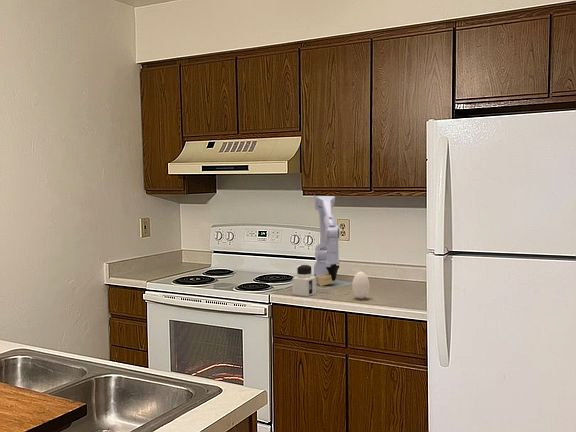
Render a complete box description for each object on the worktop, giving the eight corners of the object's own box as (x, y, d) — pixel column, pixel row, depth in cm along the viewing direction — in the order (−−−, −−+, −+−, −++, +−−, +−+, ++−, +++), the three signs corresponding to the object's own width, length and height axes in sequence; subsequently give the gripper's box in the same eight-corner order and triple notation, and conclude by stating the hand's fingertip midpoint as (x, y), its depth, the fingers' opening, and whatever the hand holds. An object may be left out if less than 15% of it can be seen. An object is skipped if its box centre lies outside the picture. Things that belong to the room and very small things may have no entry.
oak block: (317, 284, 291) (316, 275, 291) (329, 281, 292) (328, 273, 291) (320, 286, 285) (318, 278, 285) (332, 283, 286) (330, 275, 286)
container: (316, 293, 273) (316, 265, 272) (306, 296, 266) (306, 267, 265) (301, 291, 277) (301, 263, 276) (292, 294, 271) (292, 265, 270)
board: (304, 287, 288) (304, 285, 288) (335, 281, 302) (335, 279, 302) (324, 291, 277) (324, 289, 277) (356, 285, 291) (356, 283, 291)
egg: (359, 296, 266) (359, 269, 265) (373, 298, 261) (373, 271, 260) (348, 298, 261) (348, 271, 260) (362, 301, 256) (361, 273, 255)
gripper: (329, 250, 297) (330, 278, 297) (319, 253, 283) (319, 282, 284) (343, 251, 294) (343, 278, 294) (333, 253, 280) (333, 282, 281)
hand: (332, 280), depth 289 cm, fingers closed, pressing on oak block
